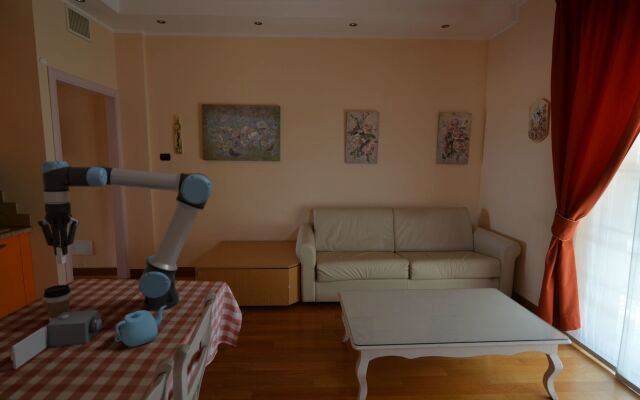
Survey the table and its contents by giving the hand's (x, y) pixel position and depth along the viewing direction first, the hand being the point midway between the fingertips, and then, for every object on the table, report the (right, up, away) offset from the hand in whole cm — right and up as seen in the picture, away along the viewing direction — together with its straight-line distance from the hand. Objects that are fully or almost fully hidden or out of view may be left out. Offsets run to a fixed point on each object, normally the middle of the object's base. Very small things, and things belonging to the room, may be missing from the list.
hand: (61, 263), depth 123 cm
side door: (+2, -28, -16) cm, 32 cm away
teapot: (+32, -28, -2) cm, 43 cm away
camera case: (+9, -27, -3) cm, 29 cm away
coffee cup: (-7, -26, +7) cm, 27 cm away
